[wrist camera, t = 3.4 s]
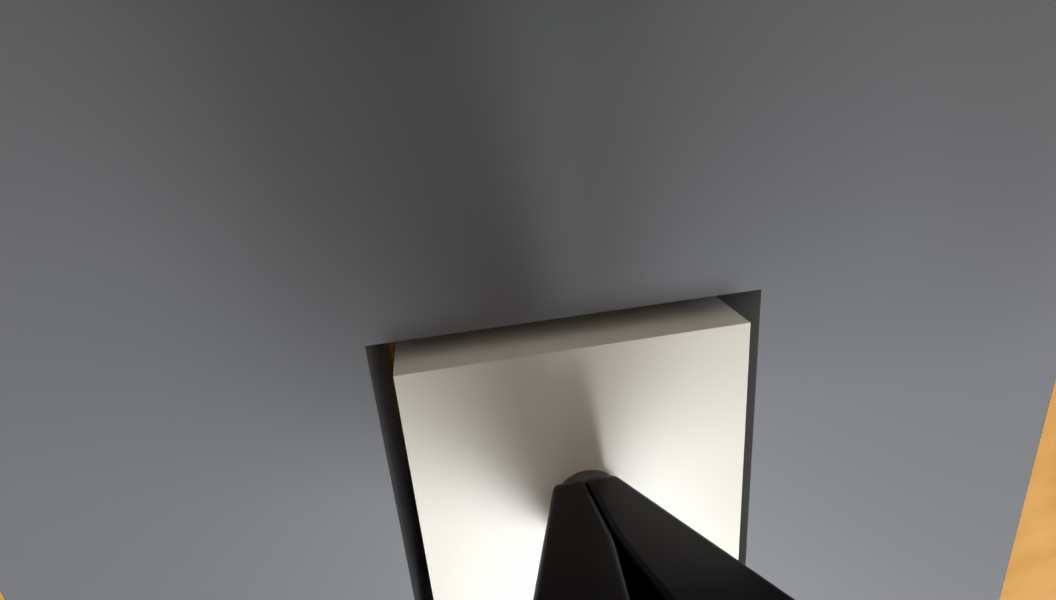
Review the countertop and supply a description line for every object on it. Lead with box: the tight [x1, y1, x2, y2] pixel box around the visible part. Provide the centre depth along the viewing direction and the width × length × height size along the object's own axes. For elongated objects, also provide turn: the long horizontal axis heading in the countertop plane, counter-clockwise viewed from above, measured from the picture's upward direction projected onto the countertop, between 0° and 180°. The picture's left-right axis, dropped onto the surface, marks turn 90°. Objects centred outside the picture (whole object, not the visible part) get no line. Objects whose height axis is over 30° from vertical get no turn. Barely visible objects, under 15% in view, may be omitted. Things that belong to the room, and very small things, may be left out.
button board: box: [0, 0, 1056, 600], centre depth 10 cm, size 15×25×2 cm, turn 5°
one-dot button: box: [393, 296, 751, 600], centre depth 10 cm, size 4×4×3 cm
